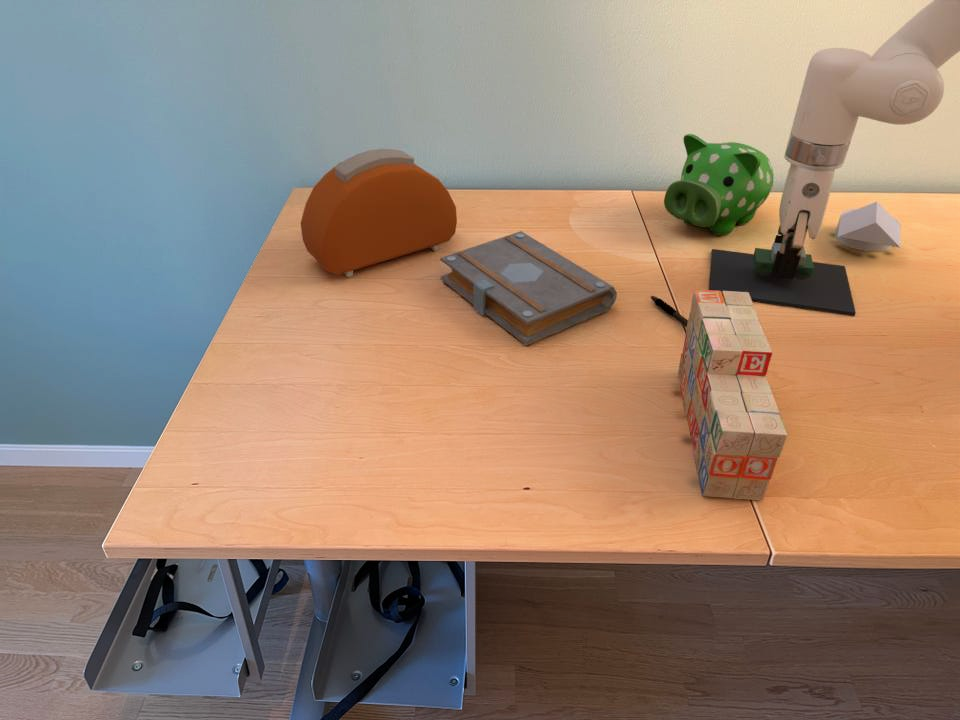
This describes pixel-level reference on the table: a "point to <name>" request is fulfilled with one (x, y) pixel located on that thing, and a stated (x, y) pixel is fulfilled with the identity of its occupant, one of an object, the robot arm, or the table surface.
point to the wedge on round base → (869, 229)
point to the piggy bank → (719, 185)
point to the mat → (783, 284)
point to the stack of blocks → (729, 396)
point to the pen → (669, 310)
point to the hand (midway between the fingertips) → (781, 267)
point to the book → (527, 286)
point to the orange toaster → (375, 212)
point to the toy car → (766, 258)
